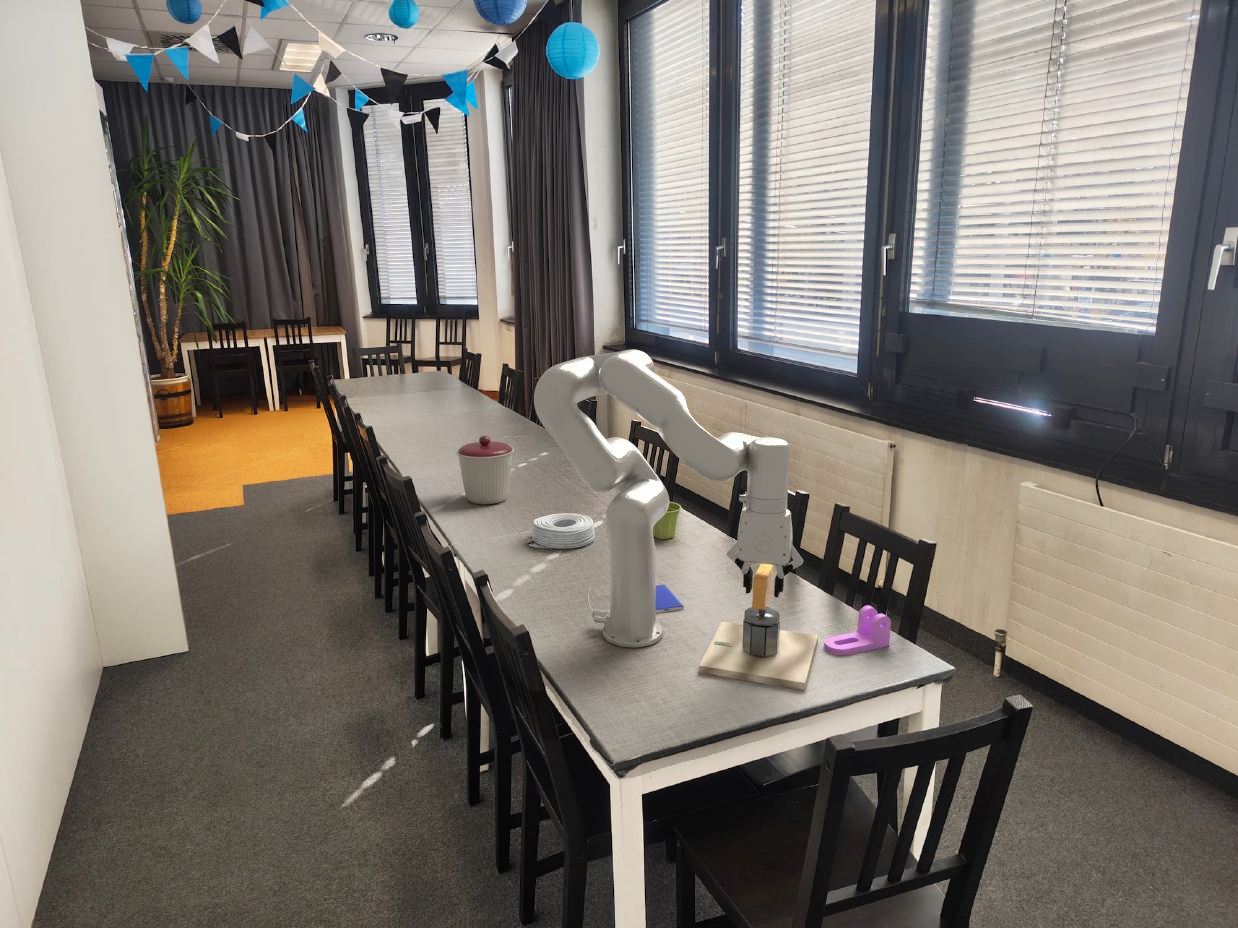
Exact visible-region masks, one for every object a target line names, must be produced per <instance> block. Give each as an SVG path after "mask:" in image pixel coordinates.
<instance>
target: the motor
mask: <svg viewBox="0 0 1238 928" xmlns="http://www.w3.org/2000/svg"><path fill="white" fill-rule="evenodd" d="M774 571H775V565H769V564H761V563H759V567H758V568H757V570H756V572H755V574H754V575H753V576H754V577H753V581H752V599H751V600H752V603H751V604H752V606H751V607H748V608H747V609H745V610H744V612H743V613H744V614H743V617H744V618H743V621H742V622H743V623H742V625H743V643H742V648H743V649H744V650H745V651H746V652H748V653H749V654H751V655H757V656H769V655H773V654H776V653H777V651H778V649H779V636H780V630H781V619H780V618H781V617H780V616H781V614H780V612H779V611H778V610H776V609H774V608H772V607H768V606H767V605H768V603H769V601H770V599H771V597H772V594H773V593H774V592H773V591H774Z"/></svg>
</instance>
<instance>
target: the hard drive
mask: <svg viewBox="0 0 1238 928" xmlns="http://www.w3.org/2000/svg"><path fill="white" fill-rule="evenodd" d="M684 608H685V606H684V605H683V604H682V602H680V600H679V599H678V598H677V597H676V596H675V594H674V593H673V592H672V591H671V590H670V588H669V587H668V586H667V585H666V584H659V585H658V584H656V614H659V613H666V612H674V611H675V612H676V611H681V610H685V609H684Z"/></svg>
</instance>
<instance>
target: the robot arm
mask: <svg viewBox="0 0 1238 928" xmlns="http://www.w3.org/2000/svg"><path fill="white" fill-rule="evenodd" d="M604 395H610V397H612V398H613V399H614V400H616V401H618V402H619V403H620V404H621V405H623V406H624V407H626V408H627V409H629V410H630V411H631V412H632V413H634V414H636V415H637V416H638V417H640V418H641V419H642V420H643V421H645V422H646V423H647V424H648V425H650V426H651V427H652V428H654V429H655V430H656V431H657V433H658V434H659V436H660V437H661V439H662V440H663V442H665V444H666V445H667V447H668V448H669V449H670V450H671V451H672V453H673V454H674V455H675V456H676V457H677V458H678V459H680V460H681V462H683V463H685V464H686V465H687V466H689V467H690V468H691V469H692V470H694V471H695V472H696V473H698V474H700V475H701V476H703V477H704V478H706V479H708V480H710V481H713V482H718V483H726V482H729V481H731V480H732V479H735V478H736V476H737V475H739V473H740V472H743V471H746V472H747V484H746V487H747V489H746V493H745V494H739V497H738V502H740V503H743V504H744V505H745V506H744V507H743V508H742V509H741V513H740V517H739V518H740V519H739V523H738V531H737V540H736V542H735V543H734V544H733V545H732V546H731V547H730V548H729V549H728V550H727V551H726V556H727V557H728V558H729V559H730V560H732V561H733V562H734V563H735V565H736V566H737V567H738V568H739V570H741V573H742V574H743V577H742V579H743V580H742V581H743V582H742V587H743V588H745V594H751V591H752V590H753V578H754V577H753V576H754V570H753V569H752V567H751V566H752V563H754V564H769V565H774V567H775V570H776V575H775V578H774V586H773V591H774V592H773V597H774V598H779V596H780V594H781V593H783V592H784V581H785V576H787V575H788V574H790V573H791V572H792V571H793V570H794V569H795V570H796V568H799V567H800V566H802V565H803V563H804V559H803V557H802V556H801V555H800V553H799V552H798V551H797V549H796V547H795V546H794V544H793V542H794V541H793V525H792V522H793V521H792V516H791V511H790V510H789V509H788V496H789V495H788V494H789V493H788V492H789V491H788V490H789V471H790V469H789V468H790V456H791V455H790V453H791V452H790V444H789V443H788V442H787V440H785V439H782V438H778V437H774V436H773V437H772V436H766V437H765V436H763V437H762V436H761V437H758V436H753V435H750V434H745V433H741V432H736V431H731V432H730V431H729V432H725V433H723V434H721V435H720V436H719V437H716V436H714V435H712V434H711V433H710V432H709V431H707V430H706V429H705V428H704V427H702V426H701V425H700V424H699V423H698V422H697V421H696V420H695V419H694V417H692V414H691V413H690V410H689V409H688V406H687V405H688V404H687V401H686V398H685V396H684V394H683V393H682V392H681V391H680V390H679V389H678V388H676V387H674V386H673V385H671V383H668V382H667V381H666V380H664V379H663V378H662V377H660V376H659V375H658V374H656V368H655V364H654V361H653V359H652V358H651V357H650V356H649V355H648V354H647V353H646V352H644V351H642V350H638V349H633V348H632V349H625V350H621V351H616V352H611V353H610V352H609V353H602V354H594V355H587V356H582V357H581V356H580V357H577V358H575V359H571V360H567V361H564V362H561V363H557V364H555V365H552V366H551V367H549V368H548V369H546V371H544V373H543V374H542V375H541V376H540V377H539V379H538V381H537V383H536V386H535V388H534V395H533V404H534V409H535V413H536V416H537V417H538V420H539V421H540V423H541V424H542V425H543V427H544V429H545V430H546V431H547V433H549V436H551V438H552V439H553V440H554V441H555V442H556V444H557V446H558V447H559V449H561V451H562V453H563V454H564V456H565V457H566V458H567V460H568V462H569V463H570V464H571V466H572V467H573V469H574V470H575V471H576V473H577V474H578V475H579V476H580V478H581V480H582V481H583V482H584V484H585V485H586V486H587V487H588V488H589V489H590V490H592V491H594V492H595V493H607V492H610V491H611V490H613V489H616V491H617V492H618V493H617V494H616V495H615V496H614V497H613V498H612V499H611V500H610V502H609V504H608V505H607V508H606V512H605V521H604V522H605V529H606V533H607V541H608V552H609V555H608V556H609V557H608V558H609V562H608V563H609V565H608V566H609V609H607V610H604V609H600V608H593V609H592V612H591V613H592V615H591V616H592V618H593V622H594V623H598V624H600V623H601V624H604V625H603V627H602V636H603V638H604V639H605V640H606V641H607V642H608V643H610V644H613V645H615V646H618V647H623V648H643V647H648V646H650V645H651V646H652V645H653V644H656V643H657V642H659V641H660V640H661V639H662V638H663V634H664V629H663V626H662V625H661V624H660V623H659V622H658V621H656V615H657V613H656V585H657V578H656V577H657V573H656V572H657V555H656V553H657V551H656V545H655V539H654V536H653V526H654V525H655V524H656V523H657V522H658V521H659V520H660V519H661V518H662V517H663V516H664V515H665V513H666V512H667V510H668V507H669V502H670V496H669V493H668V491H667V488H666V487H665V485H664V483H663V482H662V480H661V479H660V478H659V476H658V475H657V473H656V472H655V471H654V469H653V468H652V466H651V465H650V463H649V462H648V460H646V458H645V457H644V455H643V454H642V453H641V451H640V450H639V449H638V447H636V445H635V444H633V443H632V442H631V441H629V440H628V439H626V438H623V437H621V436H619V437H617V436H615V437H614V436H612V437H608V438H606V437H605V436H604V435H603V433H602V432H601V431H600V430H599V429H598V427H597V425H596V423H594V421H593V420H592V418H590V417H589V416H588V415H587V414H585V412H583V411H582V410H581V409H580V408H579V407H578V403H579V402H582V401H584V400H587V399H589V398H593V397H599V396H604ZM791 558H792V560H791Z"/></svg>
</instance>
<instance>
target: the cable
mask: <svg viewBox="0 0 1238 928" xmlns="http://www.w3.org/2000/svg"><path fill="white" fill-rule="evenodd" d="M531 534H532V536H531V537H532V538H531V539H528V540H527V541H526V543H527V544H528V547H530V548H533V547H534V548H535V549H562V550H564V549H575V548H581V547H585V546H588V545H590V544H591V543H592V542H593V541H594V539H595V538H596V537H595V535H596V534H595V523H594V520H593V519H592V517H590V516H588V515H585V514H579V513H553V514H548V515H545V516H540V517H538V518H535V519H534V520H533V523H532V531H531ZM529 543H531V544H529ZM534 548H533V549H534Z"/></svg>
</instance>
